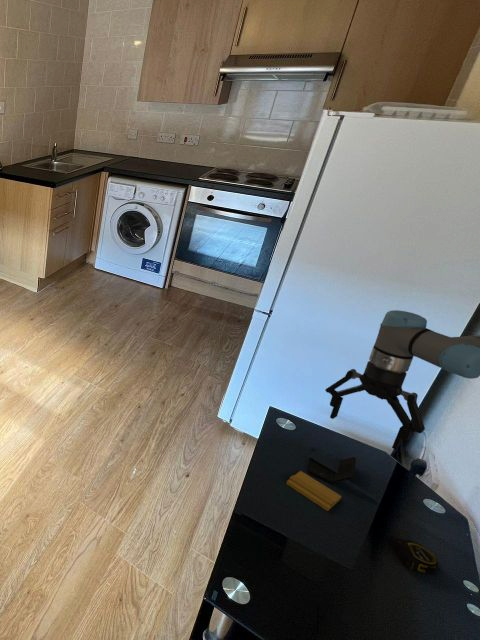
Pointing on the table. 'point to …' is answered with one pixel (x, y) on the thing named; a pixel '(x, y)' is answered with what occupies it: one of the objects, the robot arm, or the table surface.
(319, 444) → the table surface
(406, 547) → the tape measure
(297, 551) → the table surface
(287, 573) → the table surface
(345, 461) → the dark brown faceted prism
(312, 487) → the block
